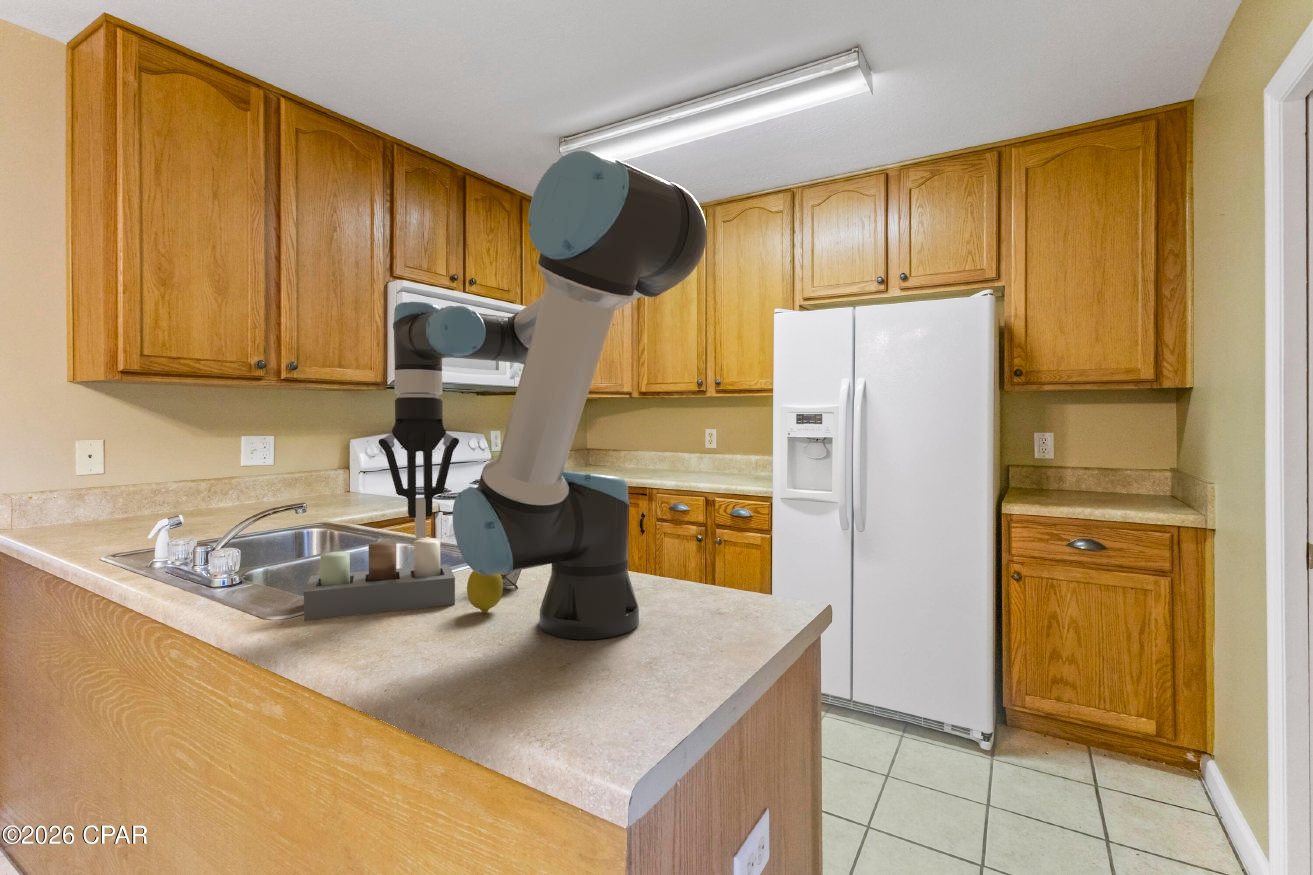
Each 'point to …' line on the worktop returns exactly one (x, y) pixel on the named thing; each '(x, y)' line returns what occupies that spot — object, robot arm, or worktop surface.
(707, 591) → the worktop surface
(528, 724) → the worktop surface
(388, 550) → the key walnut
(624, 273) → the robot arm
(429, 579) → the grey slotted block
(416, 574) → the key ivory
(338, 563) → the key sage
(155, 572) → the worktop surface
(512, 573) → the wire mesh basket
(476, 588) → the lemon
